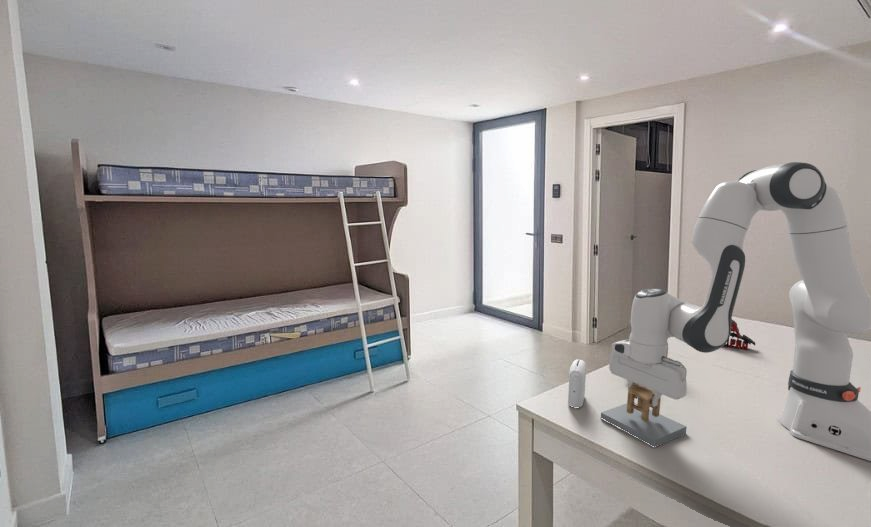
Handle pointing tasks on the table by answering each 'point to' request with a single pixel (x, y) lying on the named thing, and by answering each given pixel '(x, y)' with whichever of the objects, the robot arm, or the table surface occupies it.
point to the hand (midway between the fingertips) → (643, 401)
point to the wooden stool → (642, 401)
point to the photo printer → (577, 383)
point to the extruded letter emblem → (738, 336)
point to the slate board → (645, 425)
